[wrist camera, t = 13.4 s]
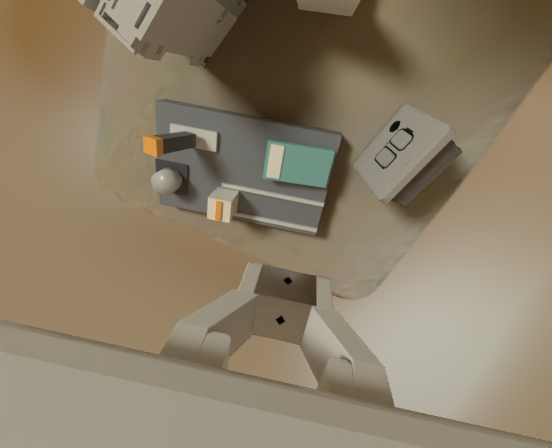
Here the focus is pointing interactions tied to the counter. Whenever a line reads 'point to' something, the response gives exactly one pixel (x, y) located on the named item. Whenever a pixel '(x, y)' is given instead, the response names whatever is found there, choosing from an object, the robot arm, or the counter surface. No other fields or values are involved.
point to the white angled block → (329, 6)
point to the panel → (241, 164)
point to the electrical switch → (407, 155)
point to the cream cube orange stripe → (222, 204)
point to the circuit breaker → (169, 25)
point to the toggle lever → (168, 143)
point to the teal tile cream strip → (297, 163)
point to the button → (166, 181)
